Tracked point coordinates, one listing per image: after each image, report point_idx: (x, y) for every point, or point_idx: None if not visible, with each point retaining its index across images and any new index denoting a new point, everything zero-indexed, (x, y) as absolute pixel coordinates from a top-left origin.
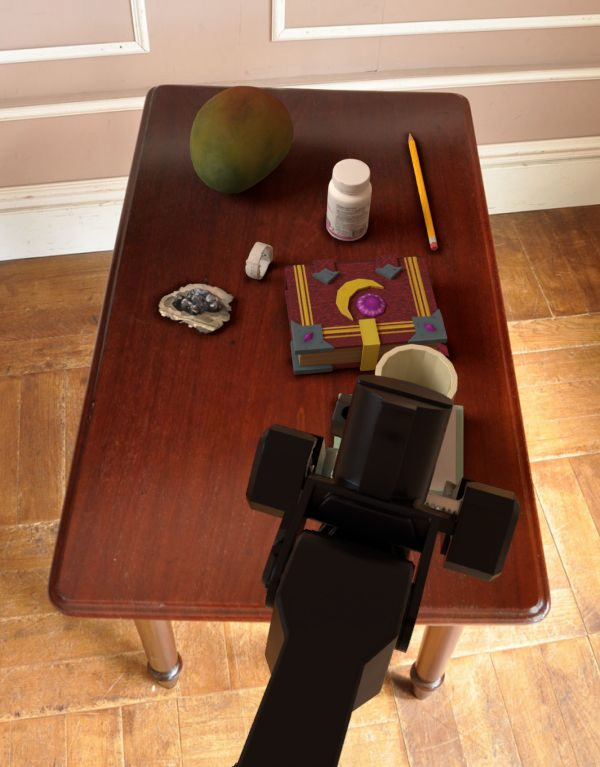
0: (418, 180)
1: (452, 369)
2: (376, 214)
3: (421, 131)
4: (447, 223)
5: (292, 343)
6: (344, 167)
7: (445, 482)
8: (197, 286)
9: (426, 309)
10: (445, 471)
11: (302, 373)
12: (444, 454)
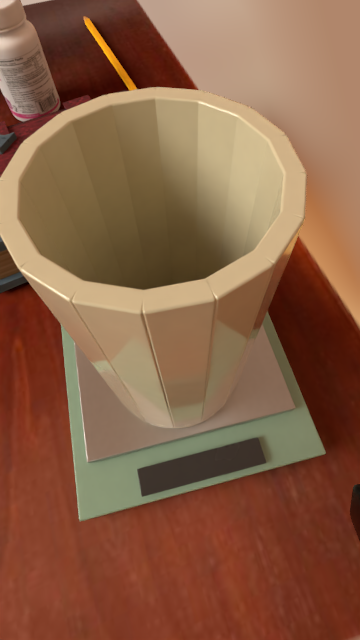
0: (103, 47)
1: (259, 119)
2: (68, 89)
3: (95, 14)
4: (147, 78)
5: None
6: None
7: (356, 491)
8: None
9: None
10: (264, 374)
11: (7, 288)
12: None
